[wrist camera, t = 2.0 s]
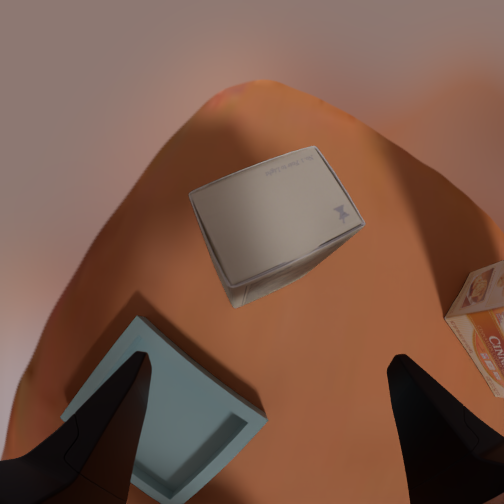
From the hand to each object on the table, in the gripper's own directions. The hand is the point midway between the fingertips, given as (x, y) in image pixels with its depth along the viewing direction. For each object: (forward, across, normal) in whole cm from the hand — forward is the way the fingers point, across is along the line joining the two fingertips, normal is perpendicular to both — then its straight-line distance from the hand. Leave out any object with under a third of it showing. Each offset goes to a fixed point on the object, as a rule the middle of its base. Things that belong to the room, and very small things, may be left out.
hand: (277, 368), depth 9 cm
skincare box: (+13, 0, +5) cm, 14 cm away
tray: (+4, +7, +13) cm, 16 cm away
